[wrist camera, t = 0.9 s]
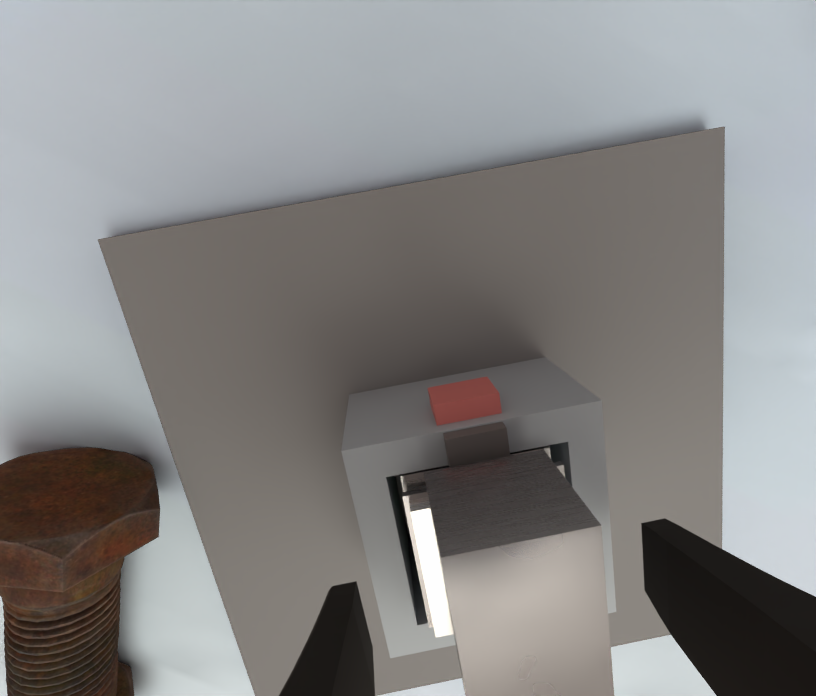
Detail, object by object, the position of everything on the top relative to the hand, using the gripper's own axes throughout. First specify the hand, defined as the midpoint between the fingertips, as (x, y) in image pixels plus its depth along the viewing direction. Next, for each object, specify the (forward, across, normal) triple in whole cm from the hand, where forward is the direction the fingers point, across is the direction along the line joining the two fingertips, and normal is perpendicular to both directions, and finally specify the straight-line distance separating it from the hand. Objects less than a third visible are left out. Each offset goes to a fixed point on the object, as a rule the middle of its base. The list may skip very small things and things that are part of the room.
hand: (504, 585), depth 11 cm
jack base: (+7, 0, 0) cm, 7 cm away
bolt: (+7, +15, +4) cm, 18 cm away
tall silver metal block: (+6, 0, 0) cm, 6 cm away
